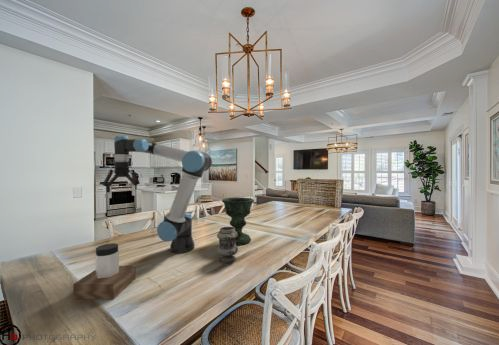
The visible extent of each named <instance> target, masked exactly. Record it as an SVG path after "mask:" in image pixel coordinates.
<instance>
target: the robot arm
mask: <svg viewBox="0 0 499 345" xmlns="http://www.w3.org/2000/svg"><path fill="white" fill-rule="evenodd" d="M113 140H114V142H113V143H114V144H113V145H114V169H108V173H107V175H106V177H105V179H104V180H103V182H102V184H101V185H102V186H103V187H105V189H106V190H105V191H106V193H107V197H108V199H112V198H113V197H112V196H113V195H112V191H113V190H112V184H114V182H116V180H117V179H118V178H127V180H128V181H129V182H131V184H132V185H131V196H134V197H135V196H136V191H137V189H138V188H137V186H138V185H140V184H141V183H140V181H139V179H138V177H137V174H136V173H135V169H130V153H133V152H134V153H142V154H143V153H145V154H151V155H154V156H159V157H163V158H166V159H169V160H174V161H176V162H180V163H181V165H182V168H181V172H182V176H181V179H180V181H179V184H178V187H177V190H176V194H175V196H174V199H173V201H172V204H171V207H170V209H169V212H166V213H165V215H164V218H163V220H162V222H160V223H159V224H158V225H157V228H156V233H157V236H158V238H159V239H160V240H162V241H164V242H170V246H169V249H170V252H172V253H176V254H181V253H183V254H184V253H187V252H192V251H193V250H195V246H196V245H195V242H194V238H193V232H192V230H193V225H192V224H193V217H192V213H190V212H187V209H188V207H189V205H190V201H191V199H192V196H193V193H194V191H195V187H196V185H197V182H198V181H199V179H201V178H202V177H203V174H204V173H205V171H207V170H210V168H211V167H212V164H213V162H212V161H213V160H212V157H211V156H210V155H209V154H208V153H207V152H203V151H199V150H189V151H187V150H184V149H180V148H177V147H172V146H168V145H164V144H162V143H161V144H160V143H158V142H154V141H148V140H146V139H145V138H134V139H133V138H130V139H129V136H128V135H115V136H114V139H113ZM113 174H114V175H113ZM130 174H131V175H130ZM112 175H113V177H112ZM111 177H112V178H111Z"/></svg>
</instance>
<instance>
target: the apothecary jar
mask: <svg viewBox="0 0 499 345" xmlns="http://www.w3.org/2000/svg"><path fill="white" fill-rule="evenodd" d="M237 236H238V233H237V232H236V231H235V228H234V227H232V226H231V225H230V226H229V225H228V226H223V227H220V228H219V231H218V232H217V234H216V238H218V247H217V249H216V252H217V254H218V255H220V257H218V260H219V262H220V263H223V264H230V263H234V262H235V261H237V257H236V256H235V255H236V254H237V253H238V251H239V247H238V245H236V238H237Z"/></svg>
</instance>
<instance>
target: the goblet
mask: <svg viewBox="0 0 499 345" xmlns="http://www.w3.org/2000/svg"><path fill="white" fill-rule="evenodd" d="M221 202H222V203H223V205H224V207H225V214H226V215H227V216H228V217H230V218H231V220H230V221H229V225H230V227H234V228H235V231H236V232H237V233H238V236H237V238H236V246H241V245H246V244H249V243H250V242H251V241H252V238H251V236H250V235H249V234H247V233H245V232H243V228H244V227H245V226H246V225H247V221H246V219H245V218H246V217H247V216H249V215H250V214H251V207H252V205H253V203H254V202H255V200H254V198H251V197H240V196H239V197H238V196H237V197H236V196H235V197H228V198H223V199H222V200H221Z"/></svg>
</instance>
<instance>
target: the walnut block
mask: <svg viewBox="0 0 499 345" xmlns="http://www.w3.org/2000/svg"><path fill="white" fill-rule="evenodd" d="M135 280H136V265H119V273H117V274H115V275H113V276H112V277H110V278H100V279H98V278H97V276H96V269H95V270H93V271H91V272H89V273H88V274H86V275H85V276H83V277H81V278H80V279H78V280H77V281H75V282H74V283H73V286H72V287H73V288H72V289H73V290H72V291H73V292H72V293H73V300H115V299H116V298H117V297H118V296H119V295H120V294H121V293H122V292H123V291H124V290H125V289H126V288H127V287H129V285H131V283H133V282H134V281H135Z"/></svg>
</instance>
